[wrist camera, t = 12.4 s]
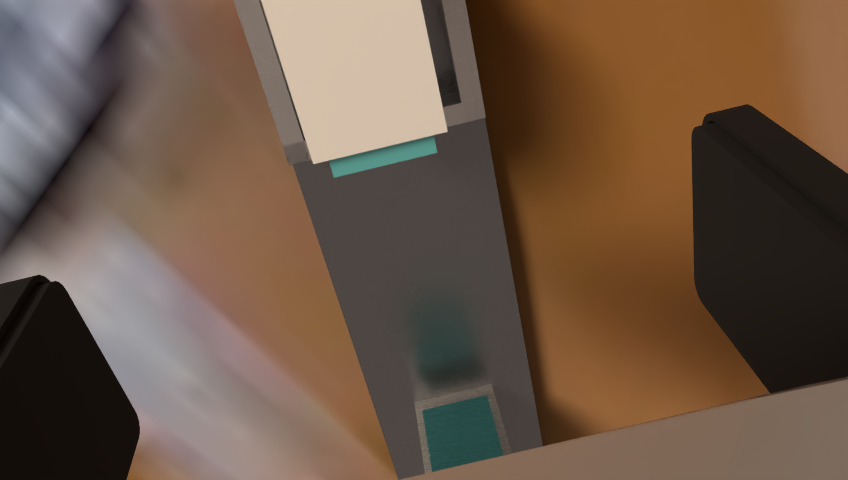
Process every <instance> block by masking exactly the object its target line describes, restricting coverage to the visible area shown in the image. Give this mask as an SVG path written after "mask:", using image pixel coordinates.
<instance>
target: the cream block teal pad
mask: <svg viewBox="0 0 848 480" xmlns="http://www.w3.org/2000/svg"><path fill="white" fill-rule="evenodd" d="M261 2H262V5H263V8H264V11H265V14H266V17H267V21H268V24H269V27H270V30H271V33H272V36H273V39H274V42H275V46H276V49H277V52H278V55H279V58H280V61H281V64H282V68H283V71H284V74H285V77H286V80H287V83H288V86H289V90H290V93H291V96H292V99H293V102H294V105H295V108H296V112H297V115H298V118H299V121H300V124H301V127H302V130H303V134H304V137H305V140H306V143H307V146H308V149H309V152H310V156H311V159H312V162H313V164H316V163H321V162H325V161H329V163H330V167H331V170H332V173H333V176H334V178H335V177H339V176H343V175H347V174H352V173H356V172H360V171H364V170H368V169H372V168H376V167H381V166H385V165H389V164H393V163H397V162H401V161H405V160H410V159H414V158H418V157H422V156H426V155H430V154H434V153H437V149H436V144H435V139H434V135H436V134H440V133H445V132H448V131H447V126H446V121H445V116H444V111H443V106H442V102H441V97H440V92H439V87H438V82H437V77H436V73H435V68H434V63H433V58H432V53H431V48H430V44H429V39H428V34H427V29H426V24H425V19H424V15H423V10H422V5H421V0H261Z"/></svg>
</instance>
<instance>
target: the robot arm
mask: <svg viewBox="0 0 848 480" xmlns="http://www.w3.org/2000/svg"><path fill="white" fill-rule="evenodd" d="M692 185H693V234H694V279H695V286H696V290H697V293H698V296H699V298H700V300H701V302H702V303H703V305H704V306H705V307H706V309H707V310H708V311H709V313H710V314H711V315H712V317H713V318H714V319H715V321H716V322H717V323H718V325H719V326H720V327H721V329H722V330H723V331H724V332H725V334H726V335H727V336H728V338H729V339H730V340H731V342H732V343H733V344H734V346H735V347H736V348H737V350H738V351H739V352H740V354H741V355H742V356H743V358H744V359H745V360H746V362H747V363H748V364H749V366H750V367H751V368H752V370H753V371H754V372H755V374H756V375H757V376H758V378H759V379H760V380H761V382H762V383H763V384H764V385H765V387H766V388H767V389H768V391H769V392H770V394H766V395H762V396H757V397H753V398H749V399H744V400H740V401H736V402H731V403H727V404H723V405H718V406H714V407H710V408H705V409H701V410H697V411H692V412H688V413H684V414H679V415H675V416H671V417H666V418H662V419H658V420H653V421H649V422H645V423H640V424H636V425H632V426H627V427H623V428H619V429H614V430H610V431H606V432H601V433H597V434H593V435H588V436H584V437H580V438H576V439H571V440H567V441H563V442H558V443H554V444H550V445H546V446H541V447H537V448H533V449H529V450H524V451H520V452H516V453H512V454H507V455H503V456H499V457H494V458H490V459H486V460H482V461H477V462H473V463H469V464H465V465H460V466H456V467H452V468H448V469H443V470H439V471H435V472H431V473H426V474H422V475H418V476H414V477H409V478H405V479H401V480H848V174H847V173H846V172H844V171H843V170H842V169H840V168H839V167H837V166H836V165H835V164H833V163H832V162H830V161H829V160H827V159H826V158H825V157H823V156H822V155H820V154H819V153H818V152H816V151H815V150H813V149H812V148H810V147H809V146H808V145H806V144H805V143H803V142H802V141H801V140H799V139H798V138H796V137H795V136H793V135H792V134H791V133H789V132H788V131H786V130H785V129H784V128H782V127H781V126H779V125H778V124H776V123H775V122H774V121H772V120H771V119H769V118H768V117H766V116H765V115H764V114H762V113H761V112H759V111H758V110H757V109H755V108H754V107H752V106H750V105H748V104H746V105H742V106H738V107H734V108H730V109H726V110H722V111H717V112H713V113H709V114H707V115H706V116H705V117H704V120H703V123H702V126H698V127H695V128H694V129H693V132H692ZM139 434H140V426H139V420H138V416H137V414H136V412H135V410H134V408H133V406H132V405H131V403H130V401H129V399H128V398H127V396H126V394H125V392H124V391H123V389H122V387H121V385H120V384H119V382H118V380H117V378H116V377H115V375H114V373H113V371H112V370H111V368H110V366H109V364H108V362H107V361H106V359H105V357H104V355H103V354H102V352H101V350H100V348H99V347H98V345H97V343H96V341H95V340H94V338H93V336H92V334H91V333H90V331H89V329H88V327H87V326H86V324H85V322H84V320H83V319H82V317H81V315H80V313H79V312H78V310H77V308H76V306H75V305H74V303H73V301H72V299H71V298H70V296H69V294H68V292H67V291H66V289H65V288H64V286H63V285H62V284H61V283H59V282H57V281H54V282H50V281H49V280H48V279H47V278H46V277H45V276H41V275H37V276H32V277H28V278H24V279H20V280H16V281H12V282H7V283H3V284H0V480H126V479H127V476H128V473H129V469H130V466H131V463H132V459H133V456H134V453H135V449H136V446H137V443H138V439H139Z"/></svg>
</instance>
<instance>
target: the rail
mask: <svg viewBox="0 0 848 480" xmlns="http://www.w3.org/2000/svg"><path fill="white" fill-rule="evenodd" d="M234 3H235V6H236V9H237V12H238V15H239V18H240V21H241V24H242V27H243V30H244V33H245V36H246V39H247V42H248V45H249V48H250V50H251V53H252V56H253V59H254V62H255V65H256V68H257V71H258V74H259V77H260V80H261V83H262V86H263V89H264V92H265V95H266V98H267V101H268V104H269V107H270V110H271V113H272V116H273V118H274V121H275V124H276V127H277V130H278V133H279V136H280V139H281V142H282V145H283V148H284V151H285V154H286V157H287V160H288V163H289V165H292V164H293V166H294V169H295V172H296V175H297V178H298V181H299V184H300V187H301V190H302V193H303V196H304V199H305V202H306V205H307V208H308V211H309V214H310V217H311V220H312V223H313V226H314V229H315V232H316V235H317V238H318V241H319V244H320V247H321V250H322V253H323V256H324V259H325V262H326V265H327V268H328V271H329V274H330V277H331V280H332V283H333V286H334V289H335V292H336V295H337V298H338V300H339V303H340V306H341V309H342V312H343V315H344V318H345V321H346V324H347V327H348V330H349V333H350V336H351V339H352V342H353V345H354V348H355V351H356V354H357V357H358V360H359V363H360V366H361V369H362V372H363V375H364V378H365V381H366V384H367V387H368V390H369V393H370V396H371V399H372V402H373V405H374V408H375V411H376V414H377V417H378V420H379V423H380V426H381V429H382V432H383V435H384V438H385V441H386V444H387V447H388V450H389V453H390V456H391V459H392V462H393V465H394V468H395V471H396V473H397V476H398V479H399V480H401V479H405V478H409V477H414V476H418V475H422V474H426V473H431V472H435V471H439V470H443V469H448V468H452V467H456V466H460V465H465V464H469V463H473V462H477V461H482V460H486V459H490V458H494V457H499V456H503V455H507V454H512V453H516V452H520V451H524V450H529V449H533V448H537V447H541V446H543V444H542V438H541V432H540V427H539V421H538V415H537V410H536V404H535V398H534V393H533V387H532V381H531V376H530V370H529V364H528V359H527V353H526V347H525V342H524V336H523V330H522V325H521V319H520V313H519V308H518V302H517V296H516V291H515V285H514V279H513V274H512V268H511V263H510V257H509V251H508V246H507V240H506V234H505V229H504V223H503V217H502V212H501V206H500V200H499V195H498V189H497V183H496V178H495V172H494V166H493V161H492V155H491V149H490V144H489V138H488V132H487V127H486V121H485V118H486V115H485V109H484V104H483V98H482V92H481V87H480V81H479V75H478V70H477V64H476V58H475V52H474V47H473V41H472V35H471V30H470V24H469V18H468V13H467V7H466V1H465V0H421V5H422V10H423V15H424V19H425V24H426V29H427V34H428V39H429V44H430V48H431V53H432V58H433V63H434V68H435V73H436V77H437V82H438V87H439V92H440V97H441V102H442V106H443V111H444V116H445V121H446V126H447V131H448V132H445V133H440V134H436V135H434V139H435V144H436V149H437V153H434V154H430V155H426V156H422V157H418V158H414V159H410V160H405V161H401V162H397V163H393V164H389V165H385V166H381V167H376V168H372V169H368V170H364V171H360V172H356V173H352V174H347V175H343V176H339V177H335V178H334V176H333V173H332V170H331V167H330V163H329V161H325V162H321V163H316V164H313V162H312V159H311V156H310V152H309V149H308V146H307V143H306V140H305V137H304V134H303V130H302V127H301V124H300V121H299V118H298V115H297V112H296V108H295V105H294V102H293V99H292V96H291V93H290V90H289V86H288V83H287V80H286V77H285V74H284V71H283V68H282V64H281V61H280V58H279V55H278V52H277V49H276V46H275V42H274V39H273V36H272V33H271V30H270V27H269V24H268V21H267V17H266V14H265V11H264V8H263V5H262V2H261V0H234Z"/></svg>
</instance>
